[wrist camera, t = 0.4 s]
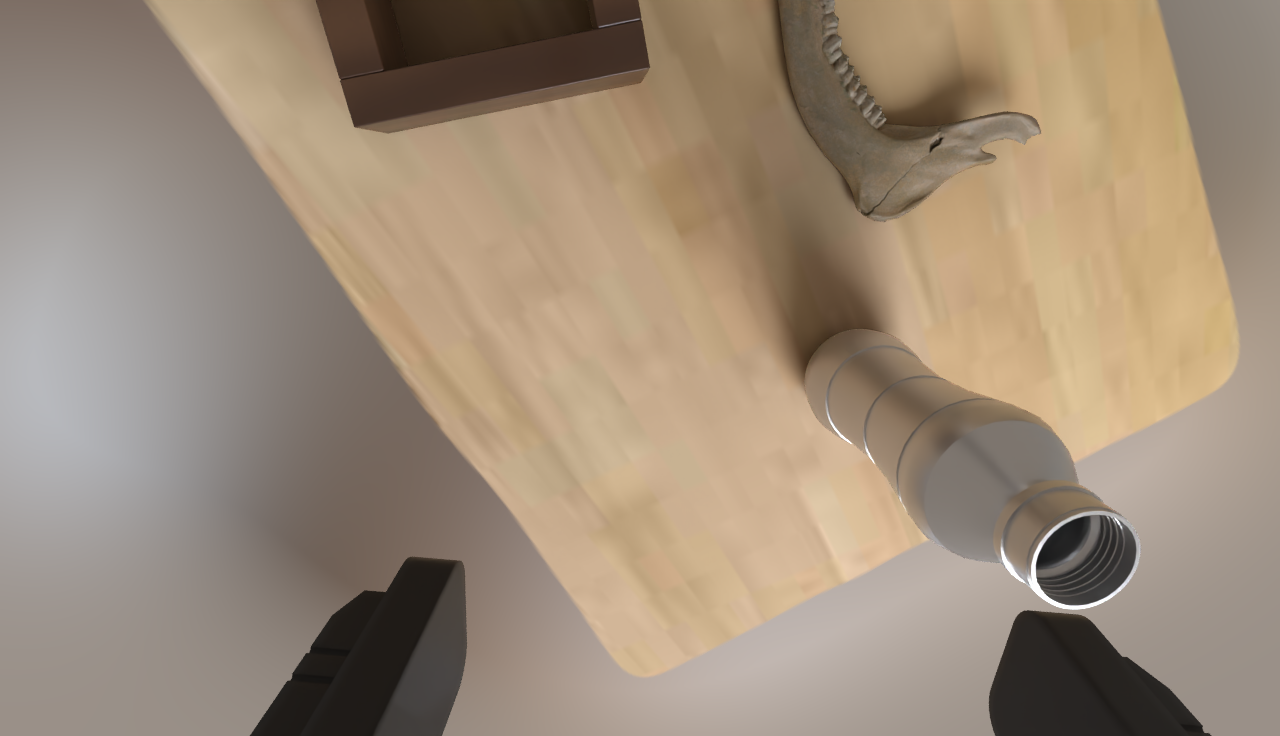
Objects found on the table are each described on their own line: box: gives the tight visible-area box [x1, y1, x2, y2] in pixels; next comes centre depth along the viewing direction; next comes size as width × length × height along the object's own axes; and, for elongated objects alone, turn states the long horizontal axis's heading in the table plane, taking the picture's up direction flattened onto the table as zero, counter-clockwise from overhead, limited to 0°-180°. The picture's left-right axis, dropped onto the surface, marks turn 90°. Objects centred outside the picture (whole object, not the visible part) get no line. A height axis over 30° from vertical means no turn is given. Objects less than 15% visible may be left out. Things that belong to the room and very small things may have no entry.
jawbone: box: [778, 0, 1041, 222], centre depth 34 cm, size 9×20×2 cm, turn 53°
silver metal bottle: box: [804, 329, 1141, 609], centre depth 30 cm, size 6×7×20 cm
